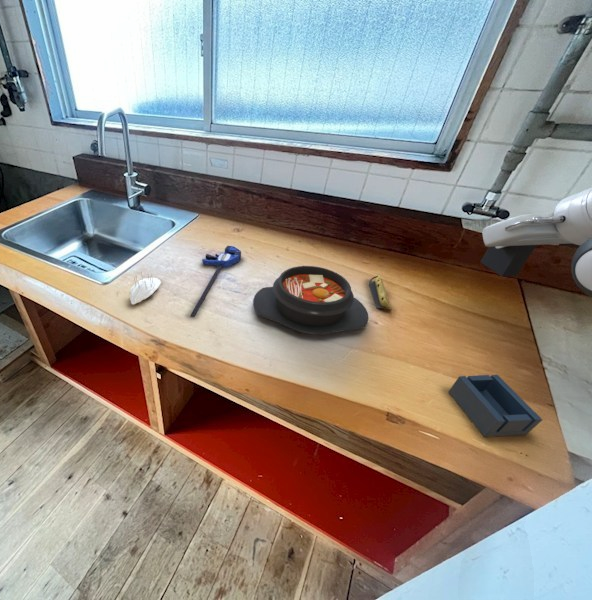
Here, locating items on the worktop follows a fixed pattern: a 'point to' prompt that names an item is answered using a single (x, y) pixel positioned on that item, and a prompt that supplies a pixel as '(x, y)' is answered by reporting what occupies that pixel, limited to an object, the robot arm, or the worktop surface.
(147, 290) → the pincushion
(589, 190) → the robot arm
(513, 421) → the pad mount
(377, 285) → the yellow-green lumpy piece
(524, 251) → the back pad
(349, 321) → the casserole
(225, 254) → the bar clamp
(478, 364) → the worktop surface
